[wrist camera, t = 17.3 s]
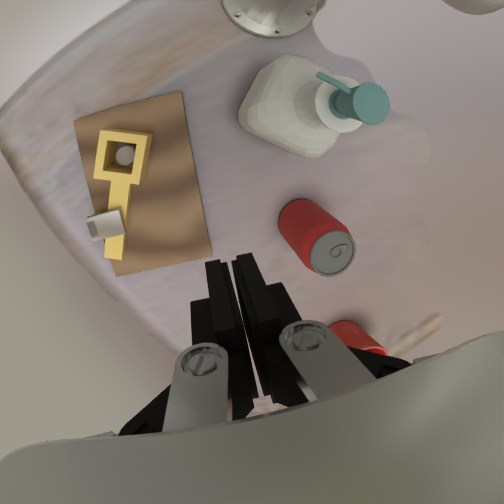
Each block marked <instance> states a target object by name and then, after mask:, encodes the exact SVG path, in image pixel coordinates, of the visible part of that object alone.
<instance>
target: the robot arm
mask: <svg viewBox="0 0 504 504" xmlns="http://www.w3.org/2000/svg"><path fill="white" fill-rule="evenodd" d="M320 1H322V0H222V4H223V7H224V9H225V12H226V13H227V15H228V16H229V18H230V19H231V20H232V21H233V22H234V23H235V24H236V25H237V26H239V27H240V28H242V29H243V30H245V31H247V32H249V33H251V34H253V35H257V36H260V37H265V38H283V37H288V36H291V35H294V34H296V33H298V32H300V31H301V30H303V29H304V28H305V27H307V26H308V25H309V23H310V22H311V21H312V20H313V18H314V16H315V14H316V10H317V4H318V3H319V2H320ZM442 1H444V2H445V3H446V4H448V5H449V6H451V7H453V8H455V9H456V10H458V11H461V12H463V13H467V14H473V15H482V14H488V13H492V12H495V11H497V10H499V9H502V8H503V7H504V0H442ZM307 14H309V15H307ZM235 16H238V17H239V18H236V17H235ZM275 31H277V32H278V34H276V33H275ZM236 258H237V260H233V261H231V262H232V268H233V273H234V278H235V283H236V288H237V293H238V298H239V304H240V309H241V313H240V310H239V306H238V302H237V299H236V295H235V291H234V288H233V284H232V280H231V276H230V273H229V269H228V265H227V262H224V263H221V262H220V259H218V260H214V261H209V262H205V267H206V275H207V283H208V290H209V298H206V299H201V300H196V301H191V303H190V307H191V330H192V346H191V347H188V348H187V349H185V350H184V351H182V353H181V354H180V355H179V356H178V358H177V360H176V362H175V367H174V372H173V377H172V382H171V384H170V385H169V386H168V387H167V388H166V389H165V390H164V391H162V392H161V393H160V394H159V395H158V396H157V397H156V398H155V399H154V400H152V401H151V402H150V403H149V404H148V405H147V406H146V407H145V408H143V409H142V410H141V411H140V412H139V413H138V414H137V415H136V416H134V417H133V418H132V419H131V420H130V421H129V422H127V423H126V424H125V425H124V427H123V428H122V429H121V431H120V433H117V434H114V432H113V431H110V432H106V433H102V434H98V435H94V436H90V437H86V438H79V439H62V440H53V441H46V442H41V443H36V444H31V445H28V446H25V447H22V448H19V449H17V450H15V451H13V452H11V453H9V454H8V455H6V456H5V457H4V458H3V459H2V460H1V461H0V504H504V331H498V332H493V333H490V334H486V335H482V336H480V337H478V338H474V339H472V340H469V341H466V342H464V343H462V344H460V345H458V346H455V347H453V348H451V349H448V350H446V351H444V352H442V353H439V354H434V355H430V356H425V357H421V358H416V359H414V360H413V363H409V362H407V361H405V360H402V359H399V358H395V357H390V356H386V355H382V354H378V353H373V352H369V351H365V350H361V349H357V348H353V347H349V346H346V345H345V344H344V343H343V342H342V341H341V340H340V339H339V338H338V337H337V336H336V335H335V334H334V333H333V331H332V330H331V329H330V328H329V327H328V326H326V325H325V324H323V323H321V322H318V321H313V320H302V319H301V317H300V315H299V313H298V311H297V309H296V308H295V306H294V304H293V302H292V300H291V298H290V297H289V295H288V293H287V291H286V289H285V287H284V286H283V284H282V283H281V282H279V283H275V284H270V285H266V284H265V281H264V279H263V277H262V275H261V272H260V270H259V268H258V266H257V264H256V261H255V259H254V257H253V255H252V253H247V254H242V255H238V256H236ZM241 314H242V317H241ZM242 319H243V321H242ZM243 323H244V325H243ZM244 328H245V329H244ZM245 331H246V333H245ZM246 335H247V338H246ZM247 339H248V342H249V346H250V349H251V353H252V356H253V360H254V363H255V367H256V370H257V374H258V377H259V381H260V384H261V387H262V391H263V394H264V396H267V395H271V399H272V402H273V404H274V403H279V404H282V405H284V406H287V408H286V409H282V410H278V411H274V412H270V413H266V414H262V415H257V416H253V417H249V418H245V417H246V416H247V415H248V414H249V413H250V412H251V410H252V409H253V408H254V403H253V399H254V398H258V397H259V396H258V391H257V386H256V381H255V377H254V372H253V367H252V362H251V358H250V353H249V348H248V343H247Z"/></svg>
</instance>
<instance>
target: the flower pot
mask: <svg viewBox="0 0 504 504" xmlns="http://www.w3.org/2000/svg"><path fill="white" fill-rule="evenodd" d="M329 328H330V329H331V330H332V331H333V333H334V334H335V335H336V336H337V337H338V338H339V339H340V340H341V341H342V342H343V343H344V344H345V345H346V346H349V347H353V348H357V349H361V350H365V351H369V352H373V353H378V354H382V355H386V356H388V353H387V351H386V350H385V349H384V348H383V347H382V346H381V345H380V344H379V343H377V342H376V341H375V340H374V339H373V338H372V337H370V336H369V335H368V334H367V333H366V332H364V331H363V330H362V329H361V328H359V327H358V326H357V325H356V324H354V323H353V322H350V321H340V322H337V323H334V324H332V325H331V326H330V327H329Z"/></svg>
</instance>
